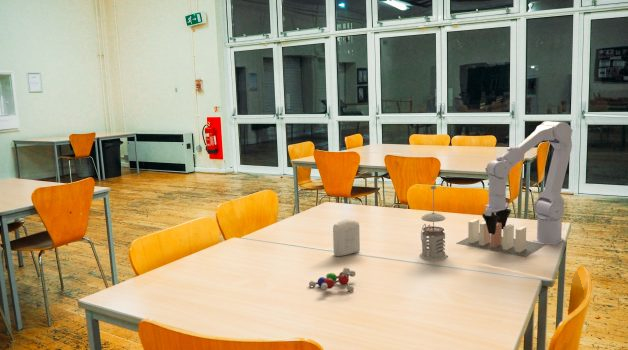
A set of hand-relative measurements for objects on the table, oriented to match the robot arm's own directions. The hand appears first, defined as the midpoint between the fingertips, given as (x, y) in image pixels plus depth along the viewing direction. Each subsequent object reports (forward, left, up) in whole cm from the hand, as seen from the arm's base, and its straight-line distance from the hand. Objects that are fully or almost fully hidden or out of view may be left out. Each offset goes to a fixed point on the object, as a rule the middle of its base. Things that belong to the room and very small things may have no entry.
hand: (496, 231), depth 183 cm
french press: (+23, -12, -6) cm, 27 cm away
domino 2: (0, -4, -5) cm, 7 cm away
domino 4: (0, +9, -5) cm, 10 cm away
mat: (-3, 0, -6) cm, 7 cm away
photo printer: (+38, -38, -6) cm, 54 cm away
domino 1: (0, -9, -5) cm, 10 cm away
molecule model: (+65, -21, -6) cm, 68 cm away
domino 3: (0, +4, -5) cm, 7 cm away
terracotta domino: (0, 0, -5) cm, 5 cm away
